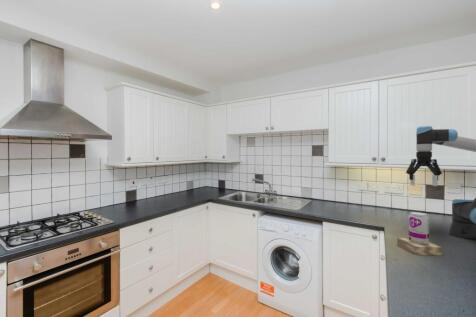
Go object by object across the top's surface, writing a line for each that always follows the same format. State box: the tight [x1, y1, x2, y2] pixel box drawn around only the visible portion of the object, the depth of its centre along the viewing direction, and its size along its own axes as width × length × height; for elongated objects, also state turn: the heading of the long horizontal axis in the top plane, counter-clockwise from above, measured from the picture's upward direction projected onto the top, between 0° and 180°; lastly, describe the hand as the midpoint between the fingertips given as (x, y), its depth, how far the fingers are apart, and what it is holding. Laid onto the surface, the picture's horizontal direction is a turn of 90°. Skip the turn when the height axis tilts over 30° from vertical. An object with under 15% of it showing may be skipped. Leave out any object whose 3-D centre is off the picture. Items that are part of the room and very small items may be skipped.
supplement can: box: [408, 211, 430, 245], centre depth 120 cm, size 8×8×15 cm
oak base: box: [396, 237, 443, 256], centre depth 120 cm, size 13×13×4 cm
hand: (423, 185), depth 142 cm, fingers open, 13 cm apart
